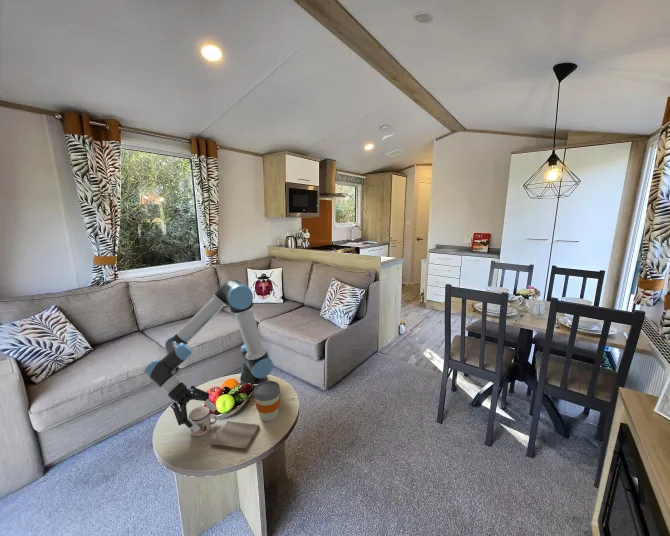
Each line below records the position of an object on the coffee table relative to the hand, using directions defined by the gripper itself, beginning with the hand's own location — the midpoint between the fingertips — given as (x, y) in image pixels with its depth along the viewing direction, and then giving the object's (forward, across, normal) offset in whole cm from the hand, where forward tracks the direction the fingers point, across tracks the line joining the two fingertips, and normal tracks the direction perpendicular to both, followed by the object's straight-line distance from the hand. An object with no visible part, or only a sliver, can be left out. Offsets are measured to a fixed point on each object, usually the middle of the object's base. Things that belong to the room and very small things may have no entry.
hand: (207, 419), depth 137 cm
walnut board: (+14, +2, +7) cm, 16 cm away
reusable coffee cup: (+21, -14, +13) cm, 28 cm away
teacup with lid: (+2, 0, -5) cm, 6 cm away
